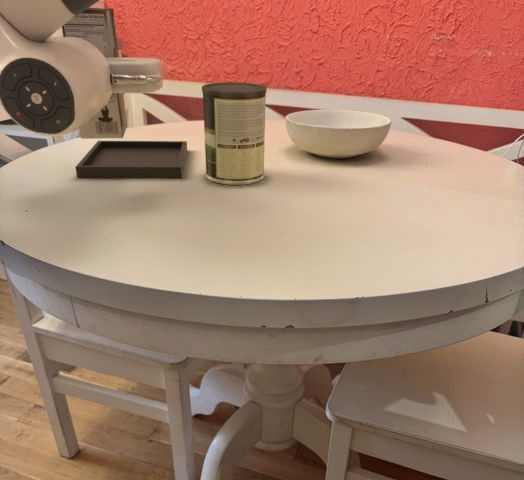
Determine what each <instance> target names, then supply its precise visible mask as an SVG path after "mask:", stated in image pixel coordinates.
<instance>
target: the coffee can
mask: <svg viewBox="0 0 524 480" xmlns="http://www.w3.org/2000/svg"><path fill="white" fill-rule="evenodd" d="M267 88H268V87H266V86H265V85H262V84H258V83H251V82H235V81H233V82H231V81H229V82H226V81H225V82H224V81H223V82H212V83H206V84H204V85H202V86H201V92H202V103H203V104H202V105H203V106H202V108H203V125H204V126H203V127H204V153H205V154H204V155H205V178H206V179H207V180H208V181H210V182H212V183H215V184H219V185H227V186H242V185H251V184H252V185H253V184H255V183H259V182H261V181H262V180H263V179H264V178H265V134H266V97H267V96H266V95H267V92H268V91H267V90H268V89H267Z"/></svg>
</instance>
